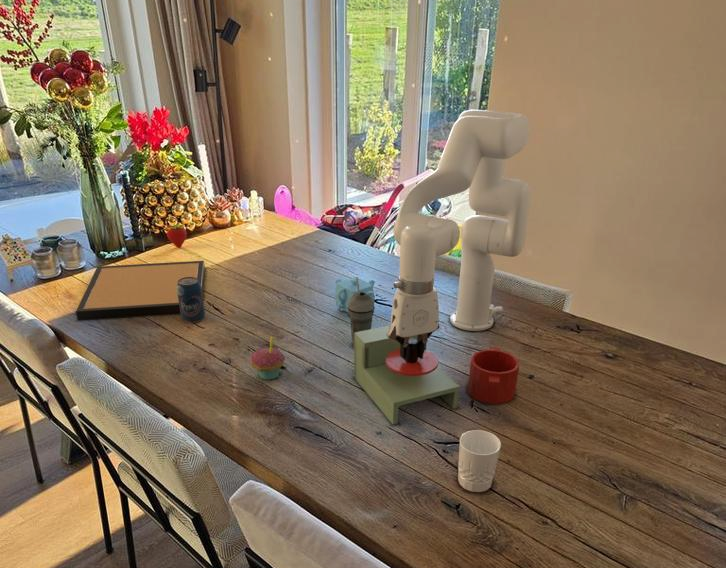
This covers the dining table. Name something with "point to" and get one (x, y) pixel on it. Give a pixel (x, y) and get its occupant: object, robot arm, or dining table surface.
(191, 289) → the soda can
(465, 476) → the white cup
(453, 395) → the green step stand
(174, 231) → the strawberry
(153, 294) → the cork board
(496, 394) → the pot
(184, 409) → the dining table surface
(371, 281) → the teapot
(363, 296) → the beverage cup
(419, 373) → the lid
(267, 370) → the cupcake
